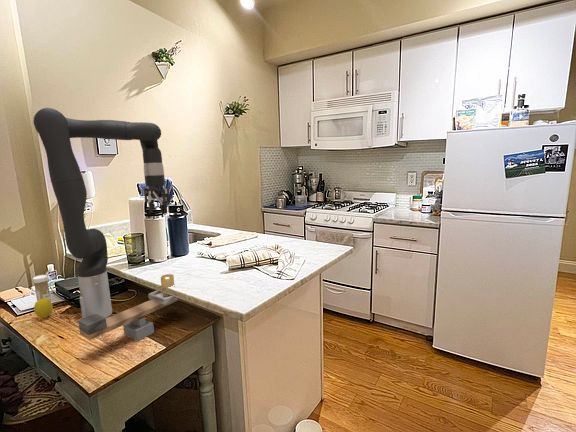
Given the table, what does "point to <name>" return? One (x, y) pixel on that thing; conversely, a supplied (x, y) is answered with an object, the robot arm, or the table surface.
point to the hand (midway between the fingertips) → (158, 213)
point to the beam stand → (138, 328)
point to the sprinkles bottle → (41, 287)
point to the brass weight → (166, 283)
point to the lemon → (43, 307)
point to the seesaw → (122, 316)
